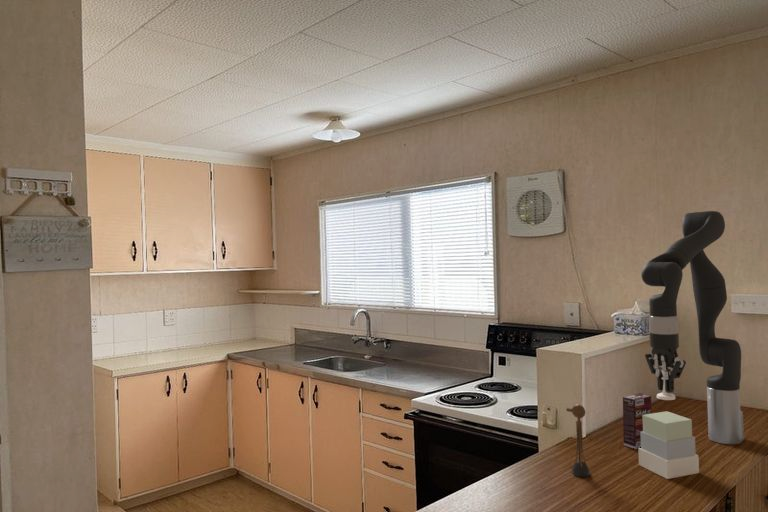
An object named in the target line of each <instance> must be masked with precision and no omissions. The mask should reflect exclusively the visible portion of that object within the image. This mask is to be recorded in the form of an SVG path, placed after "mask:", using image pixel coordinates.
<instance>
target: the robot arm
mask: <svg viewBox="0 0 768 512" xmlns="http://www.w3.org/2000/svg"><path fill="white" fill-rule="evenodd" d="M681 227H682V235H683V237H682V238H680V239H678V240H676V241H675V242H673V243H672V244H671V245H670V246H669V247H668V248H666V250H665V251H664V252H663V253H662V254H659V255H657V256H655V257H654V258H651V259H650V260H649V261H647V262H645V264H644V266H643V267H642V270H641V275H640V276H641V279H642V281H643V282H644V284H645V285H646V286H650V287H664V290H663V292H662V293H659V294H654V295H652V296H650V297H649V299H648V300H649V304H648V305H649V319H648V320H649V322H648V328H649V329H648V330H649V332H648V333H649V347H650V348H652V350H651V352H650V353H645V355H644V357H645V360H646V362H647V365H648V368H649V370H650V372H651V374H652V375H655V376H656V378H657V379H656V380H657V388H658V390H659V391H663V382H664V380H663V379H661V378H662V377H663V374H662V372H661V370H662V369H663V371H664V372H665V391H666V392H668V393H670V394H671V393H674V391H675V379H679V378H680V377H681V376H682V373H683V371H684V369H685V366H686V364H687V362H686V360H685V359H683V360H682V359H680V357H679V354H678V351H677V350H678V348H679V347H680V342H679V341H680V340H679V337H680V336H679V321H678V313H677V312H678V311H677V310H678V307H677V299H678V296H679V292H680V287H681V285H682V281H683V270H684V269H685V268H686V267H687V266H688V265H690V272H691V279H692V280H691V281H692V282H691V283H692V289H693V291H692V292H693V296H694V297H693V299H694V303H695V309H696V316H697V327H698V347H699V356H700V358H701V361H702V362H703V363H704V364H706V365H709V366H714V367H720V368H721V367H722V372H721V374H715V375H711V376H710V375H709V376H708V377H707V378H706V399H707V401H706V402H707V430H708V439H709V440H710V441H713V442H714V443H718V444H723V445H738V444H739V445H740V444H741V443H742V442H743V441H744V435H745V434H744V412H743V411H742V410H741V397H740V396H741V393H740V391H741V390H740V387H741V386H740V385H741V377H742V371H741V370H742V348H741V344H740V343H739V342H738V341H737V340H736V339H731V338H723V337H716V329H715V327H716V322H717V320H718V317H719V315H720V314H721V312H722V311H723V309H724V307H725V305H726V304H727V300H728V296H727V295H728V293H727V287H726V280H725V277H724V276H723V274H722V273H721V271H720V270H719V269H718V268H717V267H716V265H715V264H714V263H713V262H712V261H711V260H710V259H709V257H708V256H707V254H706V252H705V249H706V248H707V247H709V246H710V245H712V244H713V243H715V242H716V241H718V240H719V239H720V238H721V237H722V236H723V234H724V232H725V229H726V222H725V218H724V216H723V214H722V213H721V212H720V211H714V210H707V211H696V212H688V213H686V214H685V215H684V216H683V217H682V222H681ZM662 366H663V367H662Z"/></svg>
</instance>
